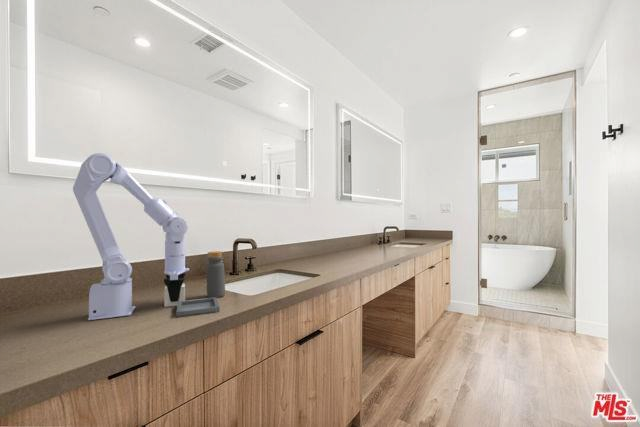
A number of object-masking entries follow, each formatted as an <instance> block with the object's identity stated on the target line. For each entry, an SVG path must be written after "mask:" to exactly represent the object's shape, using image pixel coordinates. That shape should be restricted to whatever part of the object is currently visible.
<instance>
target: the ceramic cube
mask: <svg viewBox="0 0 640 427" xmlns="http://www.w3.org/2000/svg"><path fill="white" fill-rule="evenodd" d="M163 290H164V291H163V292H164V297H163V298H164V300H163V301H164V302H163V303H164V304H163V305H164V308H166V307H177V305H178V301H186V283H184V282H183V284H182V286H181V290H180V296H179V300H178V301H176V302H171V301H170V298H169V293H168V289H167V286H166V285H165V286H164V289H163Z"/></svg>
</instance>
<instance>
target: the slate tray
mask: <svg viewBox="0 0 640 427" xmlns="http://www.w3.org/2000/svg"><path fill="white" fill-rule="evenodd" d="M219 304H220V303H219V301H218V297H214V298H210V297H206V298H195V299H189V300H186V299H185V301H178V305H177V306H176V312H175V316H176V318H182V317H189V316H197V315H203V314H204V315H205V314H212V313H219V312H220V305H219Z"/></svg>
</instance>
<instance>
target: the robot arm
mask: <svg viewBox="0 0 640 427" xmlns="http://www.w3.org/2000/svg"><path fill="white" fill-rule="evenodd" d="M79 168H80V169H79V171H78V173H77V176H76V179H75V181H74V183H73V187H72V192H73V194H74V197H75V199H76V201H77V204H78V207H79V208H80V210H81V213H82V215H83V217H84V220H85V222H86V225H87V227H88V229H89V231H90V233H91V236H92V239H93V241H94V243H95V244H94V245H95V246H96V249H97V251H98V253H99V255H100V258H101V260H102V266H101V271H102V273H103V276H104V277H103V279H101V280H100V282H99V283H93V284H92V285H91V286H90V288H89V293H88V318H87V321H93V320H102V319H111V318H117V317H118V318H120V317H128V316H131V315H132V314H133V312H134V310H135V309H136V305H133V278H132V277H131V275H132V272H133V267H132V265H131V263H130V262H129V261H128V260H127V259H126V258H124V255H123V253H122V252H121V250H120V247H119V245H118V242H117V240H116V238H115V235H114V233H113V231H112V228H111V226H110V223H109V221H108V218H107V215H106V213H105V211H104V209H103V206H102V203H101V201H100V198H99V196H98V194H97V191H98V190H99V189H100V188H101V186H102V184H103V183H105V182H106V181H107V180H109V179H110V180H109V183H112V184H115V185H119V186H122V187H123V188H124V189H125V190H127V191H128V192H129V193H130V194H131V195H132V196H133V197H134V198H136V199H137V200H138V202H140V203H141V204H142V205H143V211H144V213H146V214H147V216H149V217H150V218H151V219H152V220H153V221H154V222H155V223H156V224H158V226H160V227H162V230H163V232H164V233H165V237H164V238H165V240H164V270H163V274H166V275H165V277H166V278H164V279H163V282H164V285H165V286H167V289H168V293H169V298H170V301H171V302H176V301H178V300H179V296H180V290H181V286H182V284H183V283H184V281H185V279H186V278H185V276H186V272H189V271H190V268H189V267H186V233H187V231H188V229H189V226H188V225H187V222H186V221H185V220H184V218H181V217H178V216H179V213H178V212H176V211H174V210H172V208H170V207H169V205H168V202H167V201H166V200H165V199H161V198H157V197H153V196H152V195H151V194H150V193H149V192H148V190H146V189H145V188H144V187H143V186H142V184H141V183H139V182H138V181H137V179H136V178H134V176H133V175H131V174H130V173H129V171H127V169H125V167H124V166H122V165H121V164H119V163H118V162H115V160H114V159H113V158H112V157H111V156H110V155H108V154H106V153H102V152H97V153H94V154H91V155H89V156H88V157H87V158H86V159H85V160H84V161H83V163H82V164H81V165H80V167H79Z"/></svg>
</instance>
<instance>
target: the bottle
mask: <svg viewBox="0 0 640 427" xmlns="http://www.w3.org/2000/svg"><path fill="white" fill-rule="evenodd" d="M222 253H223V251H222V250H216V251H215V250H214V251H213V250H211V251H207V258H206V261H208V263H207V264H206V266H205V268H206V269H205V270H206V271H205V272H206V277H205V278H206V296H207V297H206V298H214V297H216V298H221V297H224V296H225V294H226V281H225V278H226V277H225V276H226V275H225V264H224V262H222V261H223V260H224V257H223V256H222Z"/></svg>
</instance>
